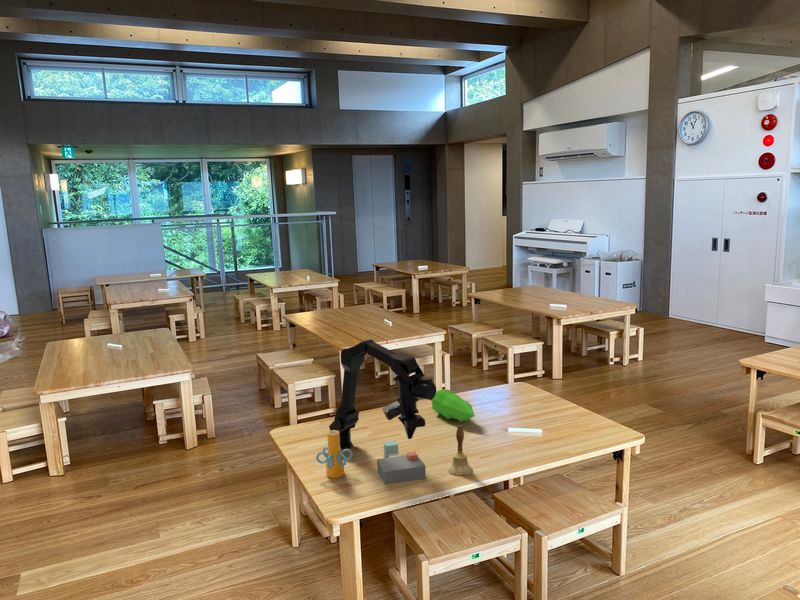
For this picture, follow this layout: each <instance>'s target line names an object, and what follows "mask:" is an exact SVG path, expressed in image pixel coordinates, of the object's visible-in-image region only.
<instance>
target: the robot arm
mask: <svg viewBox="0 0 800 600" xmlns="http://www.w3.org/2000/svg"><path fill="white" fill-rule="evenodd" d="M366 355H369V356H371V357H373V358H374V359H376V360H378V361H380V362H382V363H383V364H385V365H387V366H388V367H389V368H390V370H391V371H392V372H393V373H394V374H396V376H394V377H393V379H392V380H393V381H394V382H398V396H397V397H396V401H395V402H392V403H390V404H387V405H386V406H384V407H382V412H383V413H384V415H385V418H386V419H387V420H388V421H391V420H393V419H395V418H397V419H398V420H399V421H400V422H401V424H402V425H403V427H404V431H405V434H406V437H407V439H408V440H412V439H413V437H414V434H415V432H416V429H418V428H422V427H426V420H425V418H424V417H423V415H420V414H419V409H418V408H417V402H419V398H420V399H424V400H429V401H431V400H432V399H433V398H434V397H435V394H436V393H437V387H436V384H435V383H434V382H433V379H432V378H430V377H429V378H428V377H427V378H425V374H424V372H423V370H422V368H421V367H420V366H419V363H418V362H417V358H415V357H414V356H411V355H407V354H402V353H397V352H395V351H392V350H390V349H389V348H387V347H385V346H383V345H381V344H378V343H377V342H375V341H374V340H373V339H366V340H361V341H360V342H359V343H357V344H356V345H354V346H350V347H346V348H344V349H342V350H341V352H340V364H341V366H342V368H343V370H344V371H343V380H342V388H341V389H342V390H341V399H340V404H339V407H338V408H337V410H336V412H335V415H334V419H333V421H332V422H331V423H330V425H329V426H328V428H329V431H331V430H337V431H339V438H340V447H341V449H349V448H353V447H354V444H353V441H352V440H351V439H352V437H351V430H352V429H354V428H355V427H356V425H357V423H358V421H359V415H360V410H358V409H357V408H356V407H355V400H356V391H357V383H358V374H359V373H358V371H359V370H360V369H361V367H362V365H363V363H364V359H365V356H366Z"/></svg>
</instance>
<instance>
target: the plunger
mask: <svg viewBox="0 0 800 600" xmlns="http://www.w3.org/2000/svg"><path fill="white" fill-rule="evenodd" d="M406 455H407V459H408V460H409V461H411V460H417V455H418V453H417V452H416V451H412V452H411V451H410V452H409V451H408V452H406Z"/></svg>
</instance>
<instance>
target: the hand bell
mask: <svg viewBox="0 0 800 600" xmlns="http://www.w3.org/2000/svg"><path fill="white" fill-rule="evenodd" d="M455 436H456V442H457V453H454V455H453V458H452V463H451V465H450V466H449V467H448V469H447V470H448V473H449V474H451V475H453V476H457V475H458V476H459V477H461V475H462V476H463V475H464V476H467V475H471V472H472V473H473V471H474V470H473V468H472V466H470V464H469V461H468V457H467V454H465V453H464V452H463V450H464V449H463V442H464V439H465V431H464V429H463V425H462V424H459V425H457V429H456V434H455Z"/></svg>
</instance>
